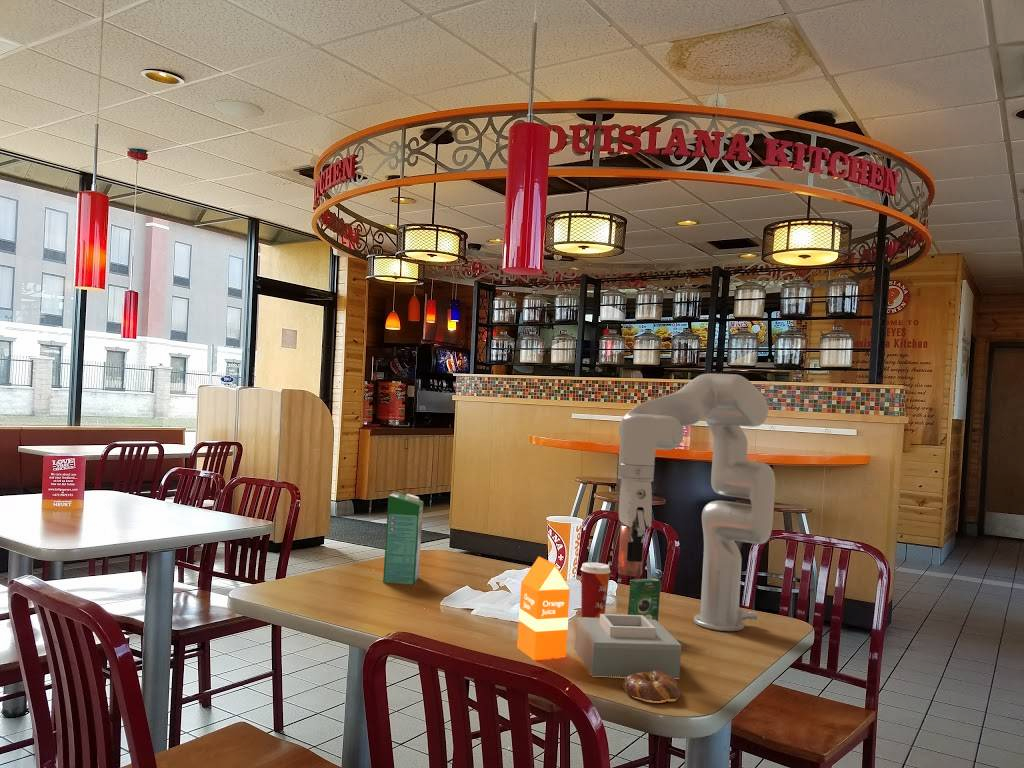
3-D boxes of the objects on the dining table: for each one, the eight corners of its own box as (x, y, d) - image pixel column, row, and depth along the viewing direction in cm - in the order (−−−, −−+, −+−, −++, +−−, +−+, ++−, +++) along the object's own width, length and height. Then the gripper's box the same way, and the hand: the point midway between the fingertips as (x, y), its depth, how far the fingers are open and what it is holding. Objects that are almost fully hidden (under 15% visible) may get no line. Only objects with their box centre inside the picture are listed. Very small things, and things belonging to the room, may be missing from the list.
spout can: (638, 571, 171) (641, 519, 171) (644, 576, 166) (647, 523, 166) (615, 570, 170) (618, 518, 170) (621, 575, 165) (624, 522, 165)
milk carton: (414, 584, 225) (420, 496, 226) (382, 582, 225) (388, 494, 226) (418, 577, 234) (424, 493, 235) (388, 575, 234) (393, 491, 235)
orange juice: (533, 660, 166) (539, 564, 166) (516, 647, 174) (522, 556, 175) (566, 657, 169) (572, 563, 170) (548, 644, 177) (553, 555, 178)
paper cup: (606, 626, 195) (610, 569, 195) (575, 622, 196) (579, 566, 197) (609, 618, 202) (612, 563, 203) (579, 614, 204) (582, 560, 204)
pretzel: (627, 680, 159) (628, 661, 159) (682, 689, 155) (683, 670, 156) (617, 700, 147) (618, 680, 147) (677, 710, 144) (678, 689, 144)
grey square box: (653, 650, 178) (655, 610, 178) (679, 679, 160) (682, 635, 160) (574, 648, 176) (577, 608, 176) (591, 677, 158) (594, 632, 158)
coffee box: (650, 630, 194) (653, 576, 194) (658, 633, 192) (661, 579, 192) (625, 633, 190) (628, 579, 190) (633, 637, 187) (636, 581, 187)
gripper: (665, 477, 160) (659, 567, 160) (642, 470, 177) (637, 551, 177) (629, 475, 159) (623, 566, 159) (609, 468, 176) (604, 550, 176)
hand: (630, 557), depth 168 cm, fingers closed on spout can, 5 cm apart
